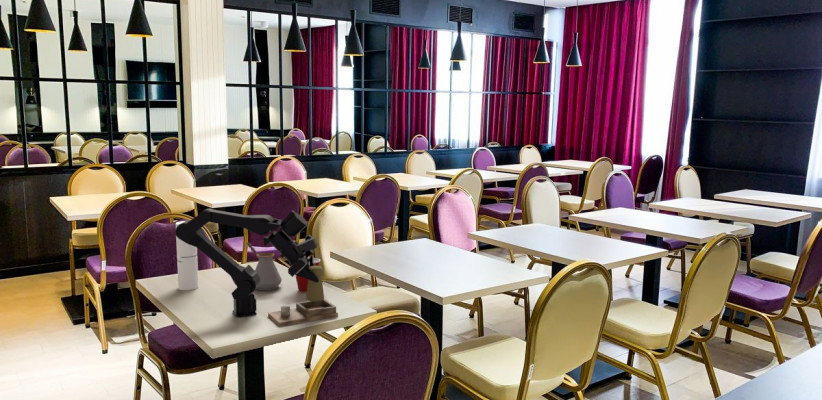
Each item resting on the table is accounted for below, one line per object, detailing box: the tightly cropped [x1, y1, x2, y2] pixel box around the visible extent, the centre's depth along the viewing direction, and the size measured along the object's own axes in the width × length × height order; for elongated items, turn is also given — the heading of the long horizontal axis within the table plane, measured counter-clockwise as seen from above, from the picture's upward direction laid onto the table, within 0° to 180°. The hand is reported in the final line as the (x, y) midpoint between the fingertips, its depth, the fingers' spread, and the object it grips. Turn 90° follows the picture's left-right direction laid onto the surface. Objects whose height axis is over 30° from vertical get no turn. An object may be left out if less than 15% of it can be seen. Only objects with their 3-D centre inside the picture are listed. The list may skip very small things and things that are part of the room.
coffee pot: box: [244, 242, 282, 291], centre depth 242 cm, size 21×12×15 cm, turn 40°
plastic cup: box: [294, 257, 321, 293], centre depth 236 cm, size 11×11×12 cm
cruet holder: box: [267, 298, 339, 327], centre depth 206 cm, size 20×11×4 cm, turn 120°
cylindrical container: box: [175, 220, 199, 291], centre depth 236 cm, size 7×7×25 cm
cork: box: [305, 265, 325, 301], centre depth 207 cm, size 6×6×11 cm
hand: (319, 279), depth 207 cm, fingers closed on cork, 5 cm apart
